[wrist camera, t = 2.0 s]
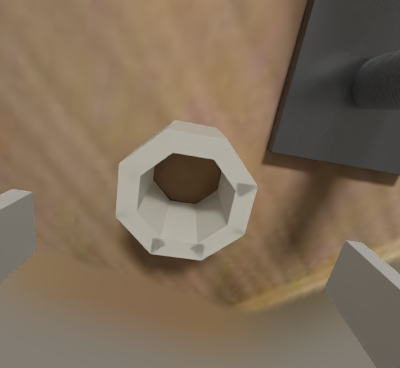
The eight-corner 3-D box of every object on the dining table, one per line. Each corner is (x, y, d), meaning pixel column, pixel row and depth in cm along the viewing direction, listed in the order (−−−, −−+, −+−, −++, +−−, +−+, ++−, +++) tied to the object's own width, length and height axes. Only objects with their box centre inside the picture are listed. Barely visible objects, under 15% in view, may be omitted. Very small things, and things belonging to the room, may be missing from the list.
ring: (135, 207, 20) (113, 249, 15) (144, 114, 18) (121, 120, 12) (224, 220, 21) (235, 265, 15) (245, 132, 18) (269, 146, 13)
